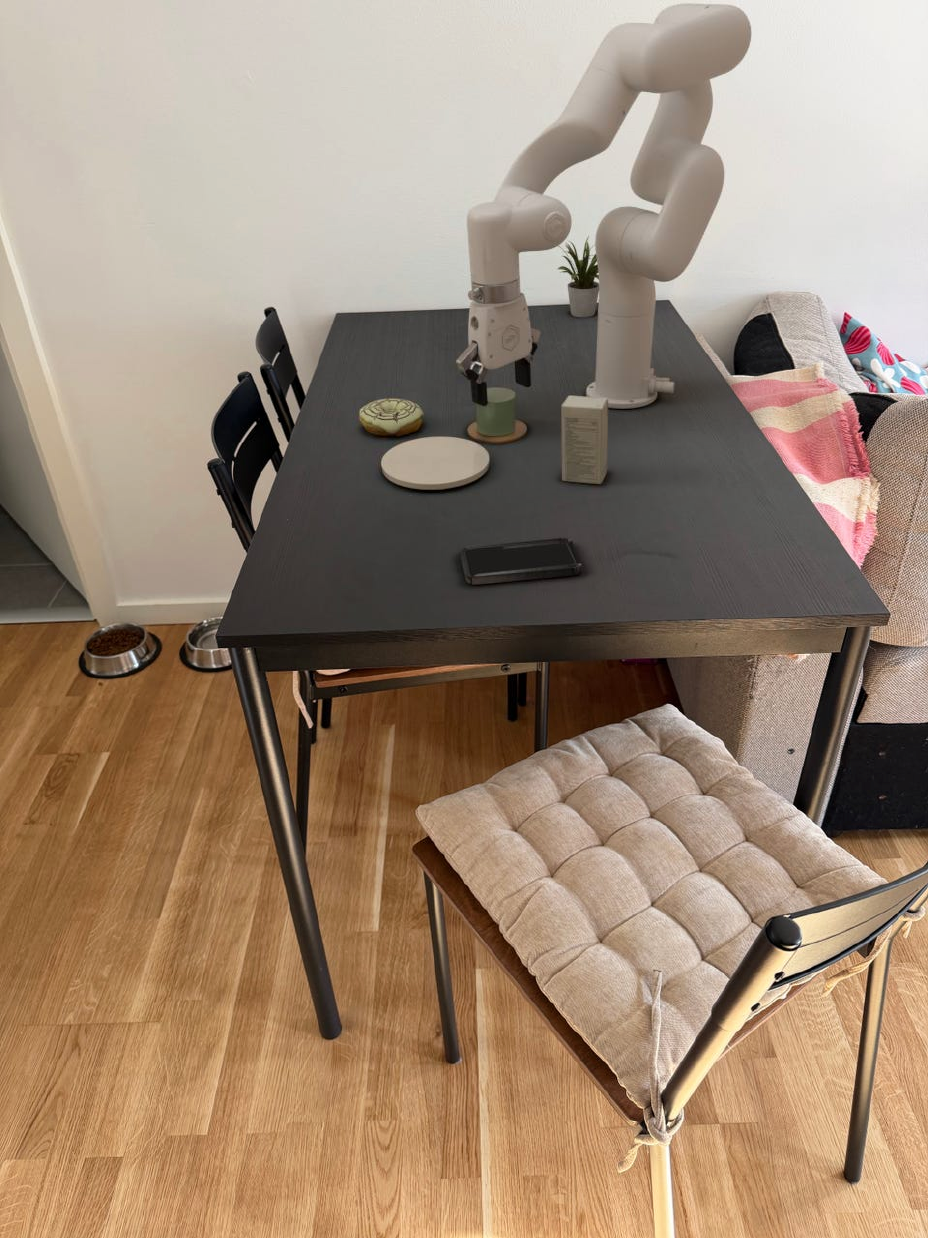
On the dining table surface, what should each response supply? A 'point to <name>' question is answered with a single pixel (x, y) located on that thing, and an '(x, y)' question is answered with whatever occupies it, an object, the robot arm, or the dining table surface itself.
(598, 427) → the cosmetic box
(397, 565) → the dining table surface
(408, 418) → the decorated donut
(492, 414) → the sage green cylinder
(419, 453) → the plate
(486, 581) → the phone
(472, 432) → the coaster
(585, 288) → the house plant
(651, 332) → the robot arm
